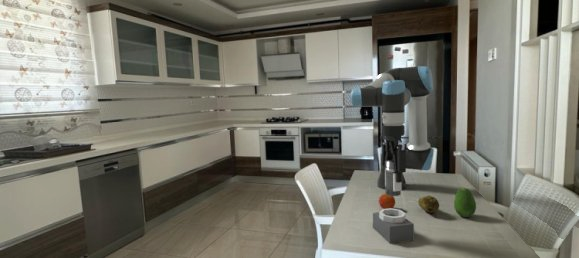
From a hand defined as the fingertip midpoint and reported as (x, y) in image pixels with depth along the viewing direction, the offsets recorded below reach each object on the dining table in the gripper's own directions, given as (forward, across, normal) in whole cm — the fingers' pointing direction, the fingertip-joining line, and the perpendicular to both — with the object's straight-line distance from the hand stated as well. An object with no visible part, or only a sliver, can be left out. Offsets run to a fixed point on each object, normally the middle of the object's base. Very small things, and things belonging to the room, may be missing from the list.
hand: (393, 188), depth 114 cm
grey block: (+17, 0, 0) cm, 17 cm away
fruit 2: (+17, -7, +36) cm, 40 cm away
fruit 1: (+17, -23, +10) cm, 30 cm away
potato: (+17, -15, +25) cm, 34 cm away
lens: (+2, 0, 0) cm, 2 cm away
